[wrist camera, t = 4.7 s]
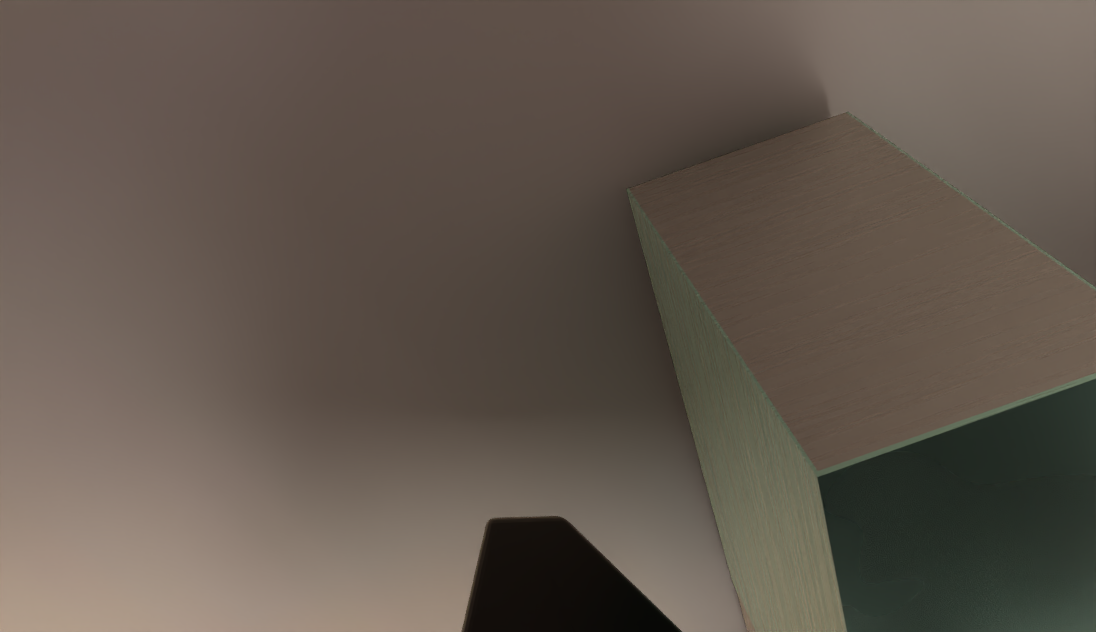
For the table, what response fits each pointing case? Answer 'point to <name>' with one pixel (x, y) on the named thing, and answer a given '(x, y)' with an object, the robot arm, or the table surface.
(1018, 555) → the bar
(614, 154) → the table surface
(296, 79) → the table surface
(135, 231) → the table surface
